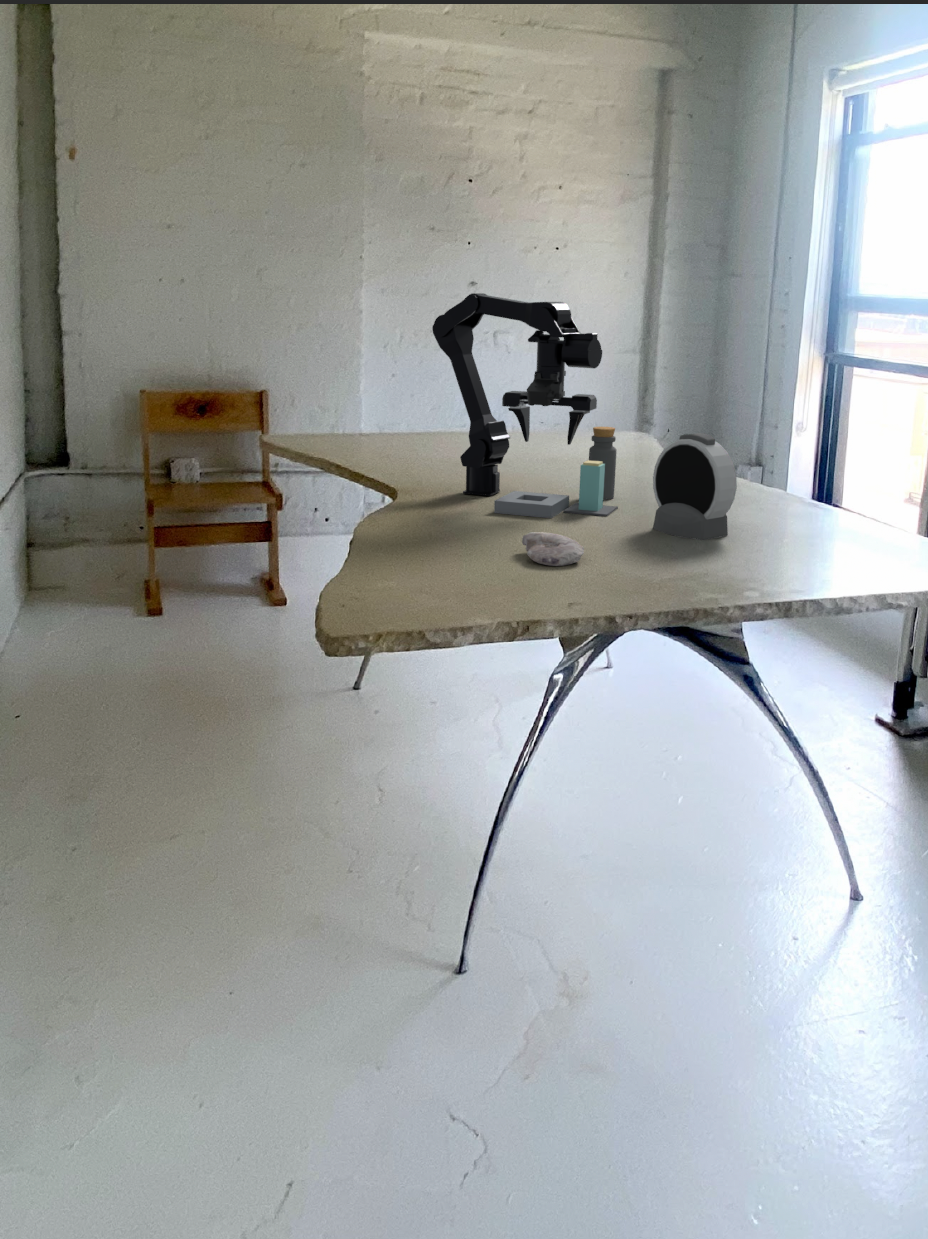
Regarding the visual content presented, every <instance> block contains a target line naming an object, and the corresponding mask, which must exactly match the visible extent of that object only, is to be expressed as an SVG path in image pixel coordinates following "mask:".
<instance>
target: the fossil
mask: <svg viewBox="0 0 928 1239" xmlns="http://www.w3.org/2000/svg"><path fill="white" fill-rule="evenodd" d="M521 543H522V545H523V546H525V550H526V555H527V556H528V558H529V559H530V560H531V561H533V562H535V563H538V564H541V565H544V566H550V567H563V566H568V565H573V564H575V563H576V564H577V563H578V562H580V560H581V557H582V556H583V555H584V554H585V548H584V546H583V545H581V544H580V542H578V541H577V540H575V539H572V538H570V537H568V536H566V535H562V534H557V533H552V532H545V531H544V532H542V531H540V532H539V531H533V532H532V531H531V532H530V531H529V532H528V533H527V534H524V535H522V541H521Z"/></svg>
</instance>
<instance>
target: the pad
mask: <svg viewBox="0 0 928 1239" xmlns="http://www.w3.org/2000/svg"><path fill="white" fill-rule="evenodd" d="M618 508H619V506H615V505H607V504H606V505H605V504H603V508H601V509H600V510H599V511H591V510H580V509H579V502H575V503H573V504H571V505H569V507H568V508H567V509H565V510H564V511H562V512H563V513H566V514H575V515H576V514H578V515H587V516H596V517H597V516H599V517H608V516H609V515H611V514H612V513H614V512H615V511H616V510H618Z"/></svg>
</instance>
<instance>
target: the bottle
mask: <svg viewBox="0 0 928 1239" xmlns="http://www.w3.org/2000/svg"><path fill="white" fill-rule="evenodd" d="M615 430H616V427H613V426H594V427H592V431H593V435H591V441H592V442H593V445H591V446H590V447H589V448H588V449H589V451H588V460H589V461H603V464H605V473H604V492H603V501H605V500H606V501H607V500H612V499H614V497H615V484H616V469H617V468H616V467H617V466H616V465H617V452H618V451H617V448H616V447H615V446H613V443H614V442H616V438H617V437H616V436H615Z"/></svg>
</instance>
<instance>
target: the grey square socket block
mask: <svg viewBox="0 0 928 1239" xmlns="http://www.w3.org/2000/svg"><path fill="white" fill-rule="evenodd" d="M493 505H494V506H493V508H494V509H493V512H494V514H503V515H513V516H524V517H525V516H526V517H536V518H543V519H545V518H547V519H552V518H554V517H556V516H558V515H559V514H560V513H562V512H563V511H564V510H565V509H567V508H568V507H570V495H568V494H559V493H558V494H557V493H556V494H555V493H546V492H545V493H544V492H533V491H522V490H521V491H520V490H513V491H511V492H509V493H507V494H505V495H502V496H501V497H498V498H497V499H495V500H494V504H493Z"/></svg>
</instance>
